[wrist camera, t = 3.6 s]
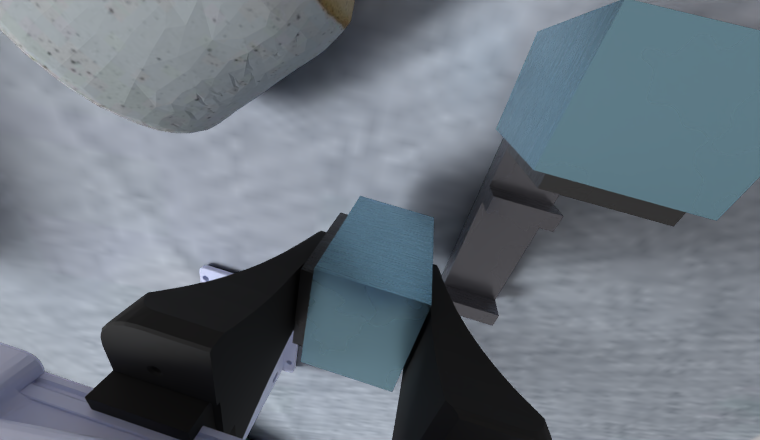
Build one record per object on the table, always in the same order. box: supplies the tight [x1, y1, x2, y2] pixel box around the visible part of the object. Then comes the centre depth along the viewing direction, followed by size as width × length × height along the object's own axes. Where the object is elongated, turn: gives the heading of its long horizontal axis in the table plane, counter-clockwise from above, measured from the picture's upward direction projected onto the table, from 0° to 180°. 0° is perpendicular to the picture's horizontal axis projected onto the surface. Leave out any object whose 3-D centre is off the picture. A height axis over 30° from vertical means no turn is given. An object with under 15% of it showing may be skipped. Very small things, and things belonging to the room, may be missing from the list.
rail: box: [442, 0, 760, 325], centre depth 11 cm, size 14×4×7 cm, turn 167°
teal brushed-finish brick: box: [292, 196, 434, 392], centre depth 11 cm, size 4×4×6 cm
